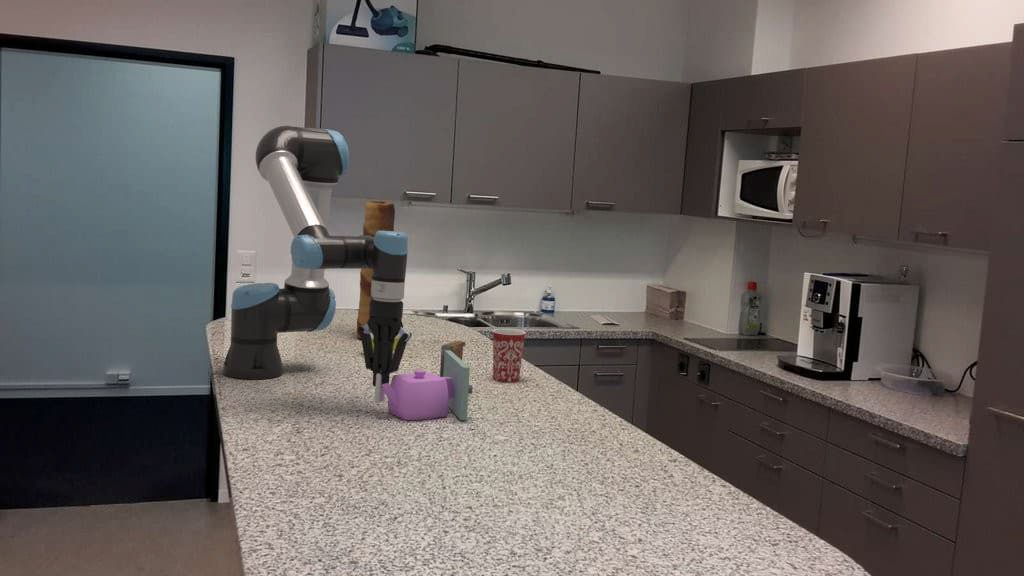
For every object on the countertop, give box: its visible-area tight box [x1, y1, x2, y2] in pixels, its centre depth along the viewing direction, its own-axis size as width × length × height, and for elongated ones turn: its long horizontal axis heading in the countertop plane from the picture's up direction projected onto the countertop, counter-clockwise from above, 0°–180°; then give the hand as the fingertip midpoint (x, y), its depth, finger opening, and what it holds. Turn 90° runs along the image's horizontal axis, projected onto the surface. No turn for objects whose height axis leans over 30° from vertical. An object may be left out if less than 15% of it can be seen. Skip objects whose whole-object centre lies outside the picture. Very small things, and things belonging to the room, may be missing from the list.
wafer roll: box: [356, 200, 396, 340], centre depth 300 cm, size 10×11×45 cm
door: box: [443, 350, 474, 421], centre depth 216 cm, size 20×3×12 cm, turn 16°
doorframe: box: [439, 340, 466, 377], centre depth 231 cm, size 3×10×13 cm, turn 161°
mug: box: [492, 328, 527, 383], centre depth 255 cm, size 13×9×14 cm
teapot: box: [382, 369, 453, 421], centre depth 210 cm, size 18×10×10 cm, turn 125°
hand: (379, 401), depth 212 cm, fingers closed
